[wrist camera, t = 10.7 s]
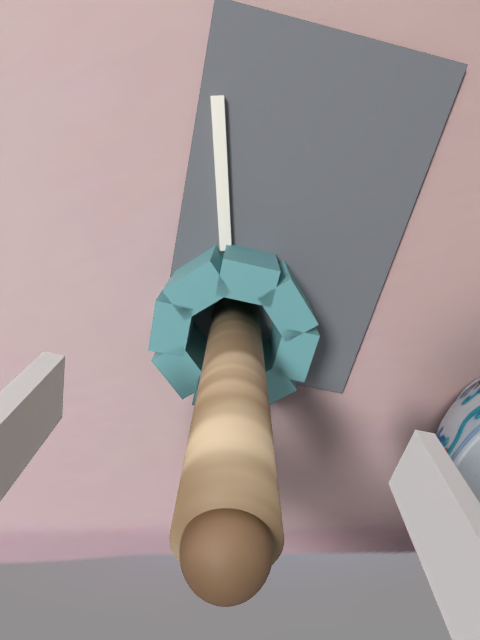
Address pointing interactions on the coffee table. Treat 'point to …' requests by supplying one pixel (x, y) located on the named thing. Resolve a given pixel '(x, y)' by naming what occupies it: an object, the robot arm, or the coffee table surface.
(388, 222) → the mat
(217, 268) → the bead
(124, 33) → the coffee table surface
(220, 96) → the white stick
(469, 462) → the chinaware
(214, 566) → the wooden rod
